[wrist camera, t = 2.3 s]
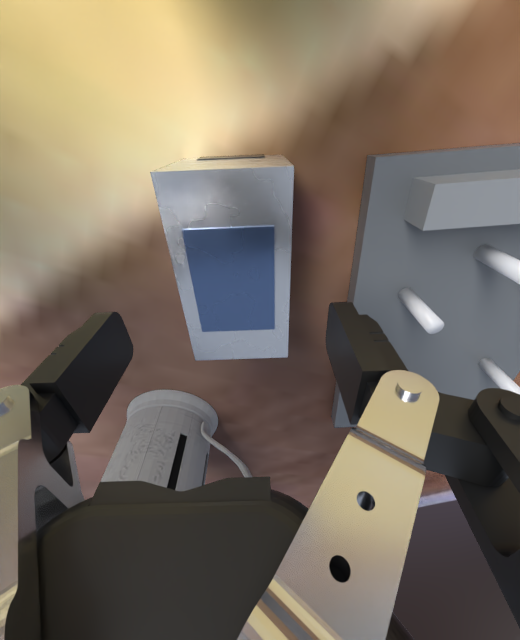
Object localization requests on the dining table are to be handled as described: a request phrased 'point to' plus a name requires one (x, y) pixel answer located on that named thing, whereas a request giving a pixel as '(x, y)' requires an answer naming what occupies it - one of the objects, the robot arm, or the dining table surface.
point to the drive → (231, 251)
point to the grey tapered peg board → (442, 265)
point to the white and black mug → (167, 441)
